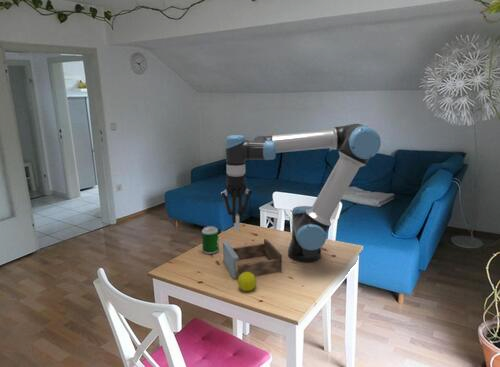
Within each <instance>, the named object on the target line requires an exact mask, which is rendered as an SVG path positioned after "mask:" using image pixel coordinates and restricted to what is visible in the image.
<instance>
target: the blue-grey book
mask: <svg viewBox="0 0 500 367" xmlns="http://www.w3.org/2000/svg"><path fill="white" fill-rule="evenodd" d="M233 248H234V247H233V246H232V245H231V244H230V243H229V241H228V240H226V241H222V258H223V259H222V260H223V263H224V264H225V266H226V267H227V269H228V271H229V273H230V275H231V276H232V278H233V279H234V280H235V279H237V266H236V265H237V262H236V261H239V258H238V256H237V254H236V253H235V251H234V250H233Z"/></svg>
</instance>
